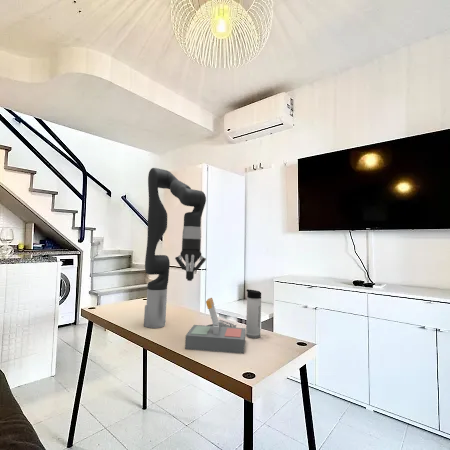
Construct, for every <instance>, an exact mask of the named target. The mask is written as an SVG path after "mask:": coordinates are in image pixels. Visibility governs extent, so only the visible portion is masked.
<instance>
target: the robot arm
mask: <svg viewBox="0 0 450 450" xmlns="http://www.w3.org/2000/svg"><path fill="white" fill-rule="evenodd" d="M147 187H148V189H147V190H148V191H147V192H148V211H147V238H146V240H147V241H146V250H145V257H144V258H145V259H144V270H145V273H146V275H149V276H150V275H151V276H153V275H157V277H156V278H155V279H154V280H151V281H149V282H148V283H147V289H146V290H147V291H146V304H145V305H144V313H143V314H144V316H143V318H144V319H143V327H146V328H149V329H160V328H164V327H165V326H166V321H167V320H166V319H167V317H166V316H167V300H168V299H167V296H168V285H169V284H168V283H169V276H170V275H169V274H170V268H171V267H170V264H171V262H170V258H169V256H168V255H166V254H159V255H158V254H156V250H157V246H158V244H159V242H160V240H161V239H162V238H163V236H164V235H165V233H166V231H167V228H168V212H167V210H166V208H165V206H164V204H163V202H162V201H161V199H160V198H161V197H160V195H159V189H164V190H165V189H168V190H170V193H171V195H173V196H174V197H176V198H177V199H178V201H180V204H181V205H183V206H186V207H193V209H192V211H188V212H187V211H186V212H185V213H184V214H183V226H182V227H183V228H182V239H181V251H180V254H179V255H178V256H175V258H174V259H175V261H176V263H177V264H178V265H179V267H180V268H181V269H182V270H184V271H185V279H186V280H187V281H189V282H192V281H193V279H194V277H195V276H194V275H195V271H197V270H199V269H200V268H201V267H202V265H203V264H204V263H205V262H206V261H207V258H206V257H204V256H203V255H202V252H201V247H202V246H201V243H202V241H201V240H202V239H201V238H202V228H201V227H202V224H201V223H202V215H203V212H204V209H205V207H206V201H207V196H206V194H205V193H204V191H202V190H198V189H192V188H191V187H190V185H188V184H186V183H185V182H183V181H181V180H179V179H178V178H177V177H176V176H175V175H174V174H173V173H172V172H171V171H169V170H167V169H163V168H157V167H151V168H150V169H149V172H148V175H147ZM182 260H183V261H184V262H183V261H182ZM198 261H199V262H198ZM197 262H198V264H197V265H196V263H197Z"/></svg>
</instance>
